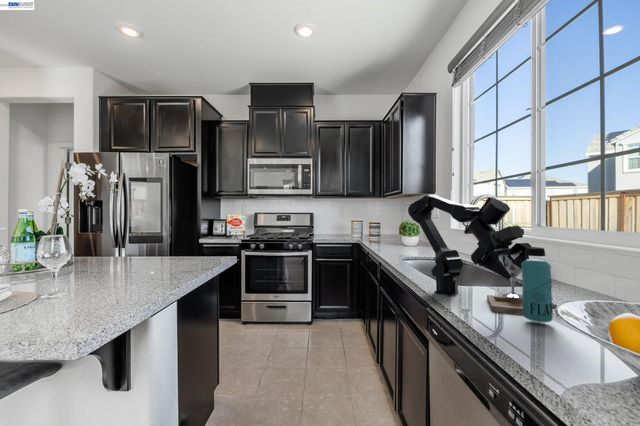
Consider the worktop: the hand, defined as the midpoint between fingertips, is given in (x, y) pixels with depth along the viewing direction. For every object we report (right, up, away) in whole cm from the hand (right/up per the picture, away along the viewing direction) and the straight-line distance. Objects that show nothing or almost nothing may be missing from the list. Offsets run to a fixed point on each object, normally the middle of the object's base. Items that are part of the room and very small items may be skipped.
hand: (522, 276), depth 79 cm
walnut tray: (+4, -12, +9) cm, 15 cm away
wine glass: (+12, -12, +22) cm, 28 cm away
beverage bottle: (+1, -12, -4) cm, 12 cm away
